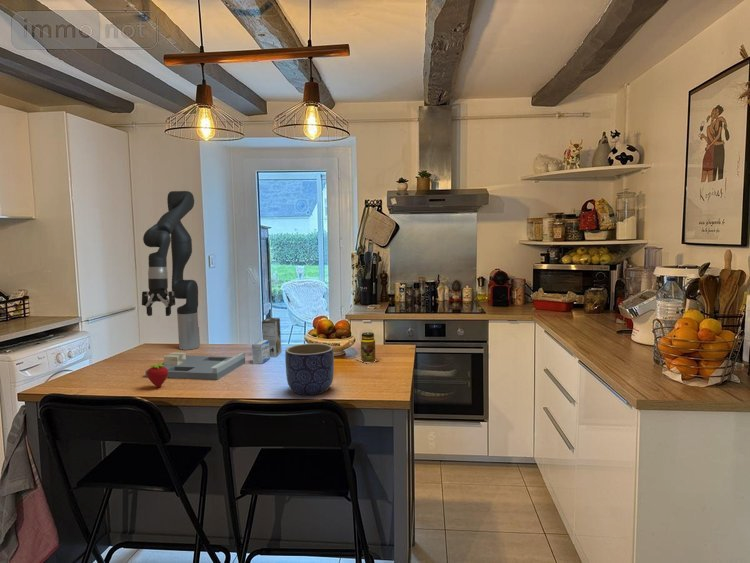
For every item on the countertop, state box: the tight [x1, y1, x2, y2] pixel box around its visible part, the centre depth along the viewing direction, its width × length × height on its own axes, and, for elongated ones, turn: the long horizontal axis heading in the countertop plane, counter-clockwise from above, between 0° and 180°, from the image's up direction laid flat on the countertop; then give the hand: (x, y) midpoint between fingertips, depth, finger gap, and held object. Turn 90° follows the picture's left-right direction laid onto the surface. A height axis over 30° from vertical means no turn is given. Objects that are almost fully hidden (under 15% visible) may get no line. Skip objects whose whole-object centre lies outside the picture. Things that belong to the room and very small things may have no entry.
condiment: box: [360, 332, 376, 363], centre depth 206 cm, size 7×8×12 cm
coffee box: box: [261, 317, 282, 358], centre depth 219 cm, size 9×6×16 cm
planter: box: [284, 342, 335, 395], centre depth 168 cm, size 16×17×15 cm
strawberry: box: [147, 360, 168, 388], centre depth 175 cm, size 6×8×10 cm
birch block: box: [163, 352, 187, 365], centre depth 199 cm, size 6×6×4 cm
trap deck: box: [144, 352, 246, 381], centre depth 197 cm, size 24×30×4 cm
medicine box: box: [251, 339, 271, 365], centre depth 208 cm, size 8×4×9 cm, turn 168°
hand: (158, 315), depth 206 cm, fingers open, 8 cm apart
